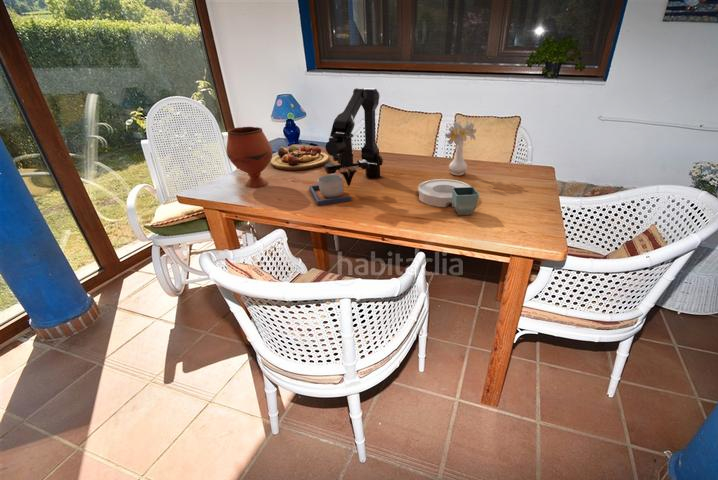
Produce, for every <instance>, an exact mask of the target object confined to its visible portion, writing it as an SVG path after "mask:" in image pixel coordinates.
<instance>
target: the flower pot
mask: <svg viewBox="0 0 718 480" xmlns="http://www.w3.org/2000/svg"><path fill="white" fill-rule="evenodd" d="M479 198H480V193H479V192H478V191H477V190H476V188H475V187H474V186H471V187H460V188H452V199H453V204H454V207H453V208H454V210H455V212H456V213H457V215H459V216H467V215H468V216H470V215H472V214H473V213H474V212H475V210H476V209H477V205H478V202H479Z"/></svg>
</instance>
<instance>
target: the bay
mask: <svg viewBox="0 0 718 480" xmlns="http://www.w3.org/2000/svg"><path fill="white" fill-rule="evenodd" d="M308 187H309V191H310V193H311V195H312V197H313V199H314V200H315V203H316V204H317V206H323V205H331V204H339V203H344V202H345V203H346V202H351V201H352V198H351V197H352V196H351V195H347V196H338V197H335V198H326V199H319V197H318V195H317V193H316V190H320V189H319V185H318V184H314V185H309V186H308Z"/></svg>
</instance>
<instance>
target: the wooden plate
mask: <svg viewBox="0 0 718 480" xmlns="http://www.w3.org/2000/svg"><path fill="white" fill-rule="evenodd" d="M329 160H330V157H329V154H328V153H325V152H322V148H321V147H320V146H314V145H313V146H312V147H311V146H306V145H302V146H301V147H300V148H299V147H298V146H297V145H295V144H292V145H290V146H289V148H288V150H287V148H285V147H283V146H280V147H279V148H278V150H277V155H275V156H274V157H272V159H271V161H270V163H269V164H270V165H271V166H272V168H275V169H279V170H288V171H299V170H309V169H314V168H319V167H321V166H324V165H325V164H328V162H329Z"/></svg>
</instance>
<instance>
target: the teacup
mask: <svg viewBox="0 0 718 480" xmlns="http://www.w3.org/2000/svg"><path fill="white" fill-rule="evenodd" d="M317 185H319V189H318V190H319V192H320V194H321V195H322V196H324V197H325V198H326V199H332V198H339V197H341V195H342V194H343V192H344V190H345V186H344V176H343V175H342V174H337V173H332V174H326V175H322V176H320V177H319V178H317Z"/></svg>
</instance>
